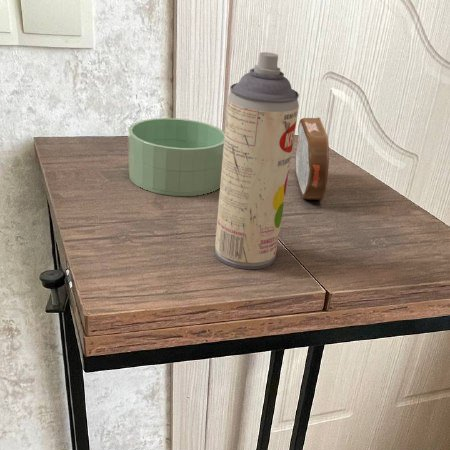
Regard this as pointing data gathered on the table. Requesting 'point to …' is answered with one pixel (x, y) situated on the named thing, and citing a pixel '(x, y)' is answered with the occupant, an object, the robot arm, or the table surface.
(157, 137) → the bowl
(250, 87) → the aerosol can
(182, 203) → the table surface
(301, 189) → the tin
